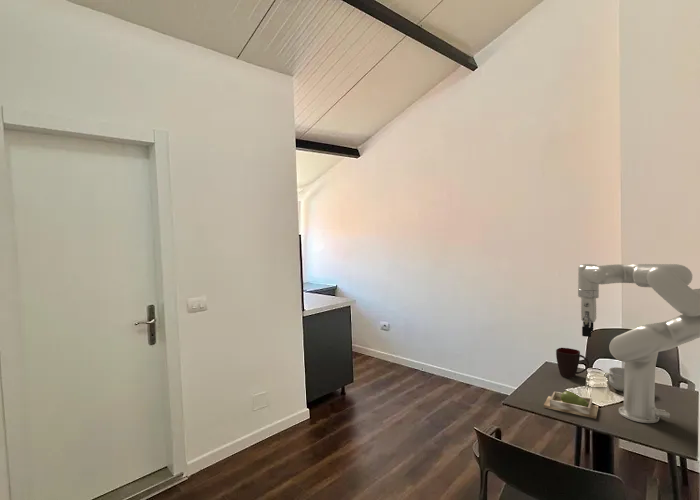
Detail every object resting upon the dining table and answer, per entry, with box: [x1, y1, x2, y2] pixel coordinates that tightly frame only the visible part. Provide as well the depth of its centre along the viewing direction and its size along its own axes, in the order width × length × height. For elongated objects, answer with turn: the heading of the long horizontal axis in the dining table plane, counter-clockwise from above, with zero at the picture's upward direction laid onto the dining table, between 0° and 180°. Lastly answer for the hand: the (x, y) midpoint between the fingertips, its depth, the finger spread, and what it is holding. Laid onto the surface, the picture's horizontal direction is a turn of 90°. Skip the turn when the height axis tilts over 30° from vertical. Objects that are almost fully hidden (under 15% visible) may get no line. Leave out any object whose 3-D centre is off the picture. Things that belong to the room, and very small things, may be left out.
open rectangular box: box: [543, 391, 599, 419], centre depth 164 cm, size 18×10×4 cm, turn 55°
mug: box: [555, 347, 590, 379], centre depth 197 cm, size 10×14×12 cm
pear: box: [561, 390, 589, 407], centre depth 163 cm, size 6×5×10 cm
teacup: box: [604, 366, 624, 393], centre depth 181 cm, size 14×11×8 cm
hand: (587, 333), depth 175 cm, fingers open, 9 cm apart
